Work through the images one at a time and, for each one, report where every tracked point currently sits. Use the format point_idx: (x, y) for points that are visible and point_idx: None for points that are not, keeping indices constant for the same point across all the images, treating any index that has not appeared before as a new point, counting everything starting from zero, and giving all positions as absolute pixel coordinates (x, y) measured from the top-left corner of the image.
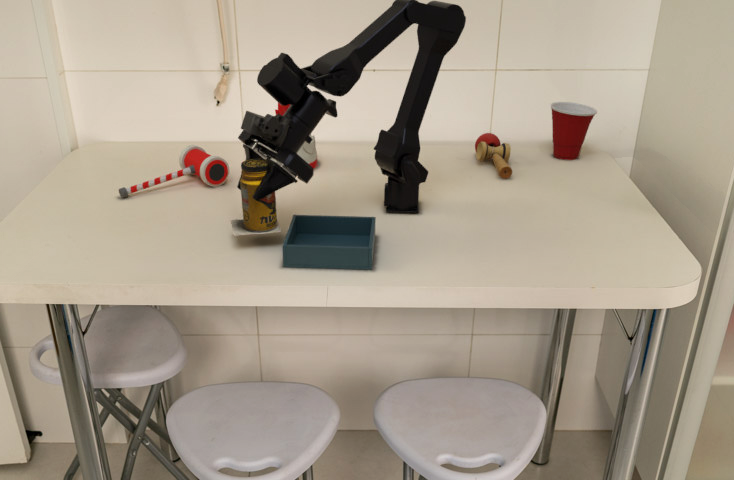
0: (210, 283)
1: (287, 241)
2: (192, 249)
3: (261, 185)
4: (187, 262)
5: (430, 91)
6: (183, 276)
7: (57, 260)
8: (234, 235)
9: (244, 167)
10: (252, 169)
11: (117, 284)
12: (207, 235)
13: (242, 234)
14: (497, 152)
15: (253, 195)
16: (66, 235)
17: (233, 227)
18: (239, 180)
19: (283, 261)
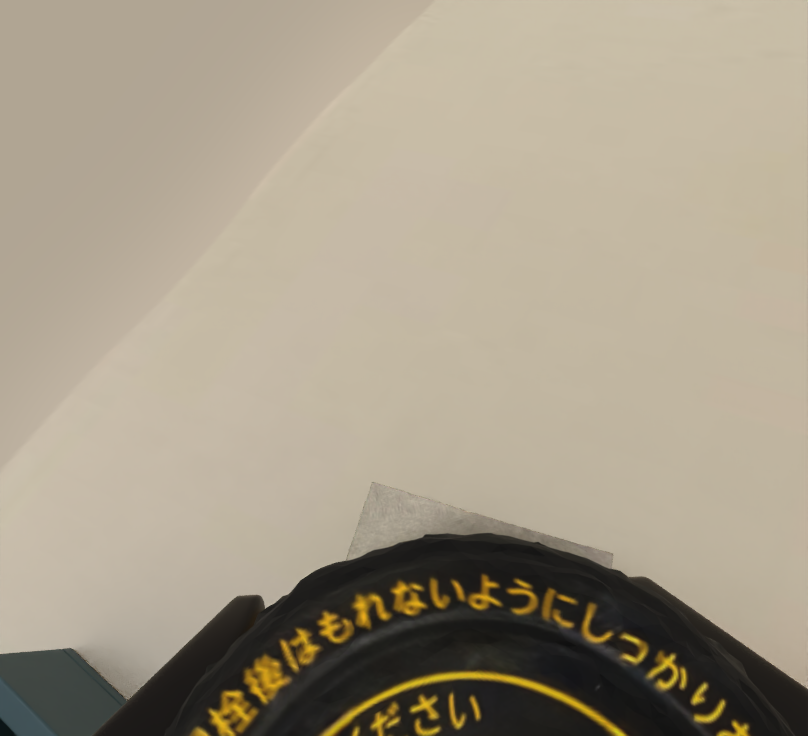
0: (161, 308)
1: (9, 727)
2: (498, 346)
3: (115, 722)
4: (382, 294)
5: None
6: (275, 251)
7: (589, 14)
8: (374, 484)
9: (390, 550)
10: (212, 672)
11: (340, 96)
12: (636, 454)
13: (364, 532)
14: None
15: (248, 605)
16: (792, 50)
17: (499, 529)
18: (698, 618)
19: (48, 651)
